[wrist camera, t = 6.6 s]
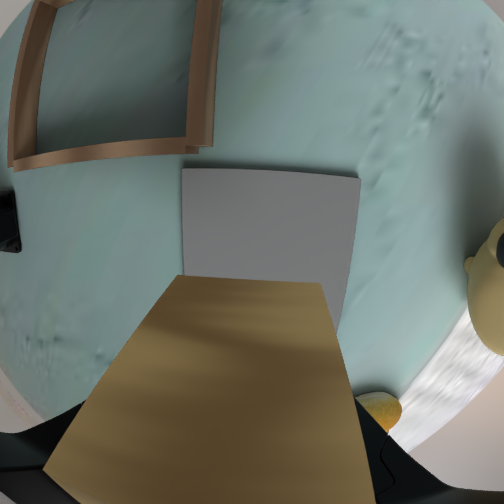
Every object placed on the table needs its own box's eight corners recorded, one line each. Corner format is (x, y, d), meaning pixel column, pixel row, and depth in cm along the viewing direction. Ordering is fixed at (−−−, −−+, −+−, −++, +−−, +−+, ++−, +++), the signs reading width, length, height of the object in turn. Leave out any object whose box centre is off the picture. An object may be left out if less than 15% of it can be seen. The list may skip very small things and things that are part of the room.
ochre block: (189, 376, 12) (131, 538, 4) (177, 274, 10) (42, 469, 2) (303, 385, 11) (309, 561, 4) (320, 282, 10) (379, 524, 2)
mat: (190, 339, 23) (189, 342, 23) (183, 168, 19) (181, 168, 18) (331, 348, 23) (332, 351, 22) (359, 178, 18) (361, 178, 17)
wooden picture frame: (29, 169, 19) (7, 173, 16) (52, 5, 13) (35, -3, 10) (212, 153, 18) (201, 153, 15) (227, -45, 12) (222, -65, 9)
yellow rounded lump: (408, 387, 24) (420, 413, 20) (374, 434, 27) (380, 459, 23) (341, 386, 24) (348, 416, 21) (313, 435, 27) (315, 462, 24)
